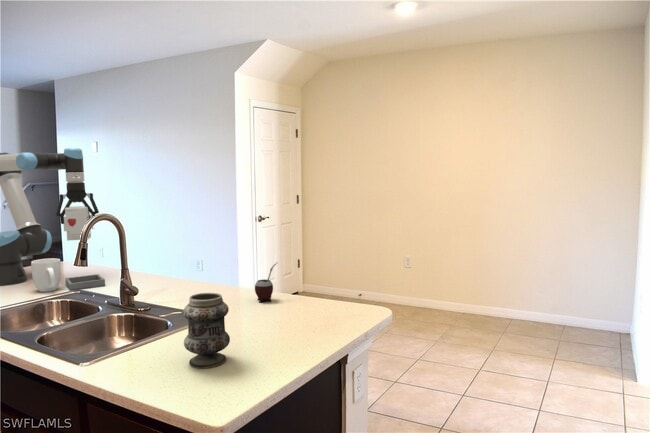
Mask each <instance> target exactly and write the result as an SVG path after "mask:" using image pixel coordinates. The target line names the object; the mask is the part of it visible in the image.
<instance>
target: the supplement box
mask: <svg viewBox="0 0 650 433" xmlns="http://www.w3.org/2000/svg"><path fill="white" fill-rule="evenodd" d="M64 208H65V207H64ZM90 215H91V213H90V212H89V210H88V207H86V206H85V205H83V206H70V207H69V208H65V215H64V217H66V231H65V232H66V240H67V241H81V240H80V235H81V232H82V229H83V227H84V225H85V224H86V222H87V221H88V220H89V219H90ZM91 231H92V230H91ZM91 231H90V233H89V235H88V239H87V240H90V238H92V232H91Z"/></svg>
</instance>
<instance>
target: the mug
mask: <svg viewBox="0 0 650 433" xmlns="http://www.w3.org/2000/svg"><path fill="white" fill-rule="evenodd" d="M30 266H31V267H30V268H31V276H32V281H33V284H34V287H35V288H36V289H37V291H38V292H41V293H47V292H53V291H56V290H57V289H58V287H59V285H60V282H61V279H62V278H61V277H62V268H61V267H62V266H61V259H60V258H49V257H48V258H41V259H36V260H35V259H34V260H32V261H31V262H30Z"/></svg>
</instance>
